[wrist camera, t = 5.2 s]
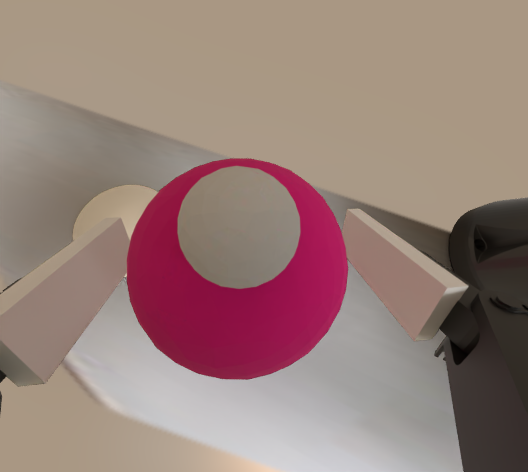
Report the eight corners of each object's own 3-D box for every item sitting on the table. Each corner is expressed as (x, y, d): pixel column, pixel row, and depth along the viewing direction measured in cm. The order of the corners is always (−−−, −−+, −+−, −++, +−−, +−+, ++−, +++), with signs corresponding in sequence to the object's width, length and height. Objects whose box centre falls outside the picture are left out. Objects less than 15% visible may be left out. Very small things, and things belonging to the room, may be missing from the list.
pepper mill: (219, 329, 20) (-449, 1284, 1) (203, 260, 22) (-127, 7, 2) (287, 306, 21) (703, 450, 2) (266, 242, 23) (382, -22, 4)
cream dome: (193, 248, 22) (191, 246, 21) (99, 296, 20) (91, 296, 19) (157, 175, 24) (153, 171, 23) (67, 212, 22) (59, 209, 21)
